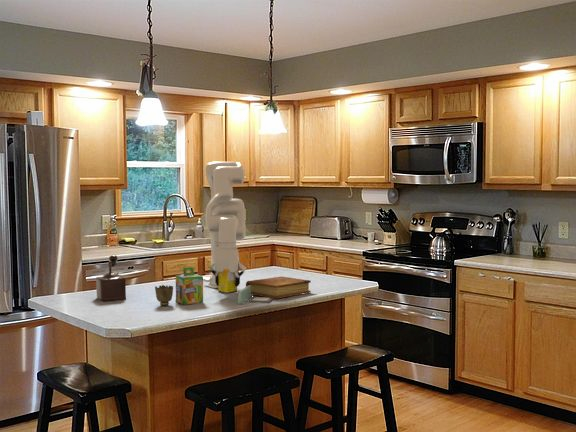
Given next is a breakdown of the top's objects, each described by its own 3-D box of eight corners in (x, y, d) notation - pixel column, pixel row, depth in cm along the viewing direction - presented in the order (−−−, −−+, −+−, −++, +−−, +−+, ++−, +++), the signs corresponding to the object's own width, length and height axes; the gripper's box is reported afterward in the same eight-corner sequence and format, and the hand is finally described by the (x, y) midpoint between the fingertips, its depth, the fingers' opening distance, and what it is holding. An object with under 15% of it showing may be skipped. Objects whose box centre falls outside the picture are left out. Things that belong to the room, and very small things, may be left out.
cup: (165, 302, 270) (165, 284, 269) (177, 305, 265) (177, 286, 264) (151, 305, 264) (151, 286, 263) (163, 308, 259) (162, 288, 259)
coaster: (248, 302, 271) (248, 300, 270) (253, 298, 279) (253, 296, 279) (269, 302, 269) (269, 301, 269) (273, 298, 278) (273, 297, 278)
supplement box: (228, 290, 283) (228, 265, 282) (237, 292, 279) (237, 267, 278) (217, 292, 279) (217, 267, 278) (227, 294, 275) (227, 269, 274)
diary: (280, 288, 305) (280, 276, 305) (310, 293, 292) (310, 280, 292) (245, 293, 288) (245, 280, 287) (276, 298, 275) (276, 285, 275)
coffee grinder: (128, 299, 278) (127, 258, 277) (102, 302, 272) (101, 259, 271) (117, 293, 291) (116, 254, 290) (92, 296, 286) (92, 256, 284)
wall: (236, 304, 267) (236, 292, 267) (246, 296, 284) (246, 285, 283) (243, 304, 266) (243, 292, 266) (253, 296, 283) (253, 285, 283)
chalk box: (183, 305, 264) (183, 270, 263) (174, 301, 272) (174, 267, 271) (204, 303, 269) (203, 268, 268) (194, 299, 277) (194, 265, 276)
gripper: (205, 246, 275) (205, 286, 277) (244, 247, 271) (244, 288, 273) (210, 243, 282) (211, 282, 284) (249, 245, 279) (249, 284, 281)
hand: (227, 285), depth 279 cm, fingers closed on supplement box, 8 cm apart
